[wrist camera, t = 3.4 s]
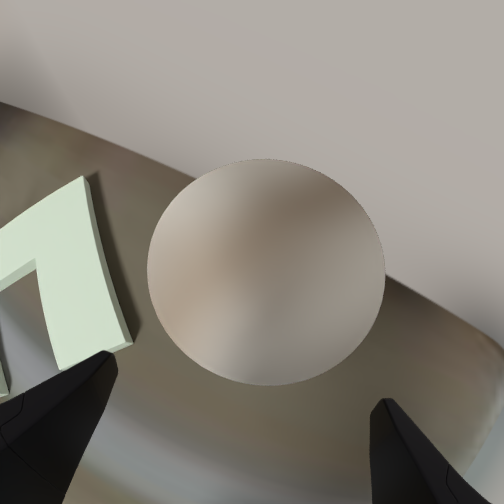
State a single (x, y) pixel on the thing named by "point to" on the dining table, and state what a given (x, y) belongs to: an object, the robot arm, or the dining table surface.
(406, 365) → the dining table surface
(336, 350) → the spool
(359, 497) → the dining table surface
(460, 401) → the dining table surface
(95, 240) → the notched board
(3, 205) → the dining table surface
